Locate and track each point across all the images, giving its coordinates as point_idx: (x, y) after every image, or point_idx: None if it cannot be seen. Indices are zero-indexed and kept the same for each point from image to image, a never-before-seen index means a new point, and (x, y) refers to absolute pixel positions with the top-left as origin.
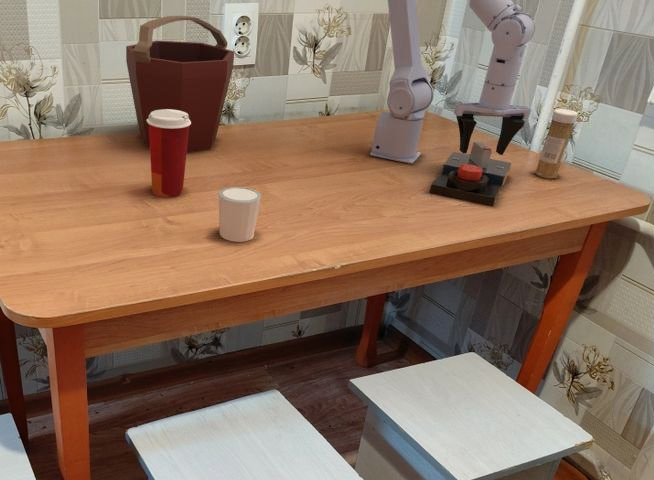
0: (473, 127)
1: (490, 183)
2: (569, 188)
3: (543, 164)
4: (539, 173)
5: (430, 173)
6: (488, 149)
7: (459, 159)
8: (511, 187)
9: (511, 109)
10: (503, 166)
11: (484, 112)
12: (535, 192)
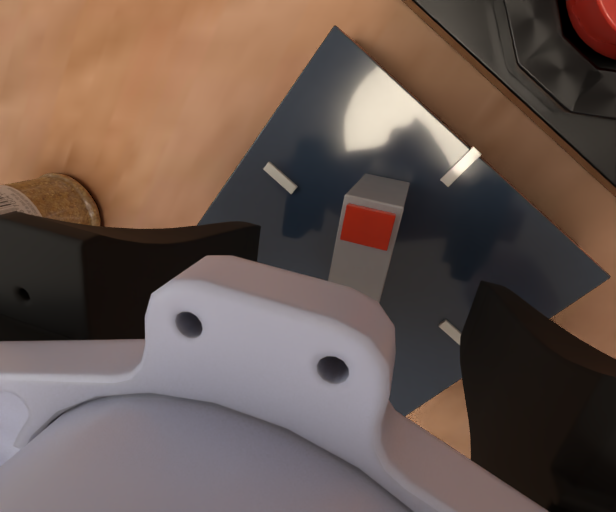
0: (576, 361)
1: (438, 7)
2: (29, 66)
3: (53, 215)
4: (89, 208)
5: (576, 318)
6: (367, 210)
7: (446, 321)
8: (265, 91)
9: (2, 450)
10: (251, 196)
11: (526, 497)
12: (184, 16)
